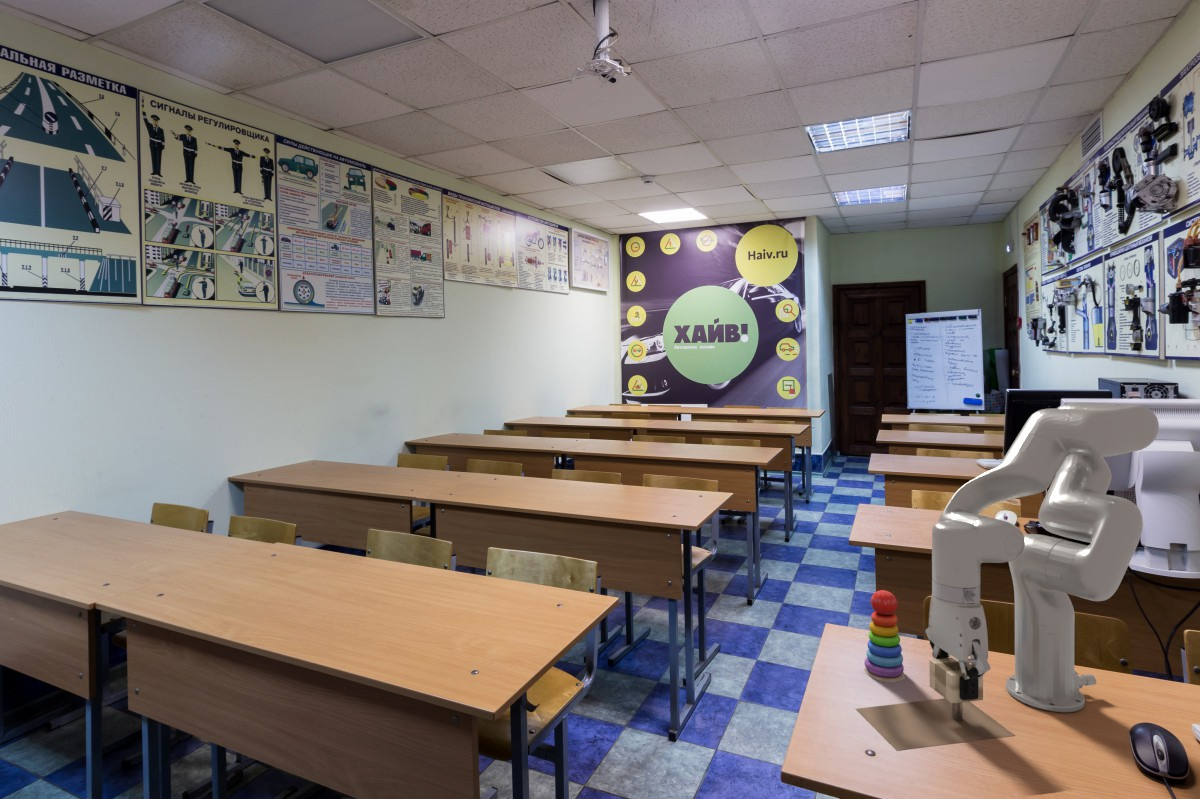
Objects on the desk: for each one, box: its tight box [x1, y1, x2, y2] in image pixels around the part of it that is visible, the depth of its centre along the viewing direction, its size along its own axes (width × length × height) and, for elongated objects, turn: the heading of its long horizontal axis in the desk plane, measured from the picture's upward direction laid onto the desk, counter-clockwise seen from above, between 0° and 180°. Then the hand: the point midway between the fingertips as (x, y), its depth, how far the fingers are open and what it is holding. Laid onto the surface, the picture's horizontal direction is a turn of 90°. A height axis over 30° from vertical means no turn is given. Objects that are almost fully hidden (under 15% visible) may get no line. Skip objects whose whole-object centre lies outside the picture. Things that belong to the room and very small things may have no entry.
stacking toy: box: [863, 589, 906, 683], centre depth 131 cm, size 8×8×19 cm
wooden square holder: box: [929, 656, 984, 703], centre depth 113 cm, size 6×6×5 cm
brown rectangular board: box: [855, 697, 1016, 752], centre depth 113 cm, size 22×13×2 cm, turn 97°
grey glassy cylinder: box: [952, 670, 963, 721], centre depth 113 cm, size 2×2×9 cm
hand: (955, 688), depth 113 cm, fingers closed on wooden square holder, 5 cm apart
